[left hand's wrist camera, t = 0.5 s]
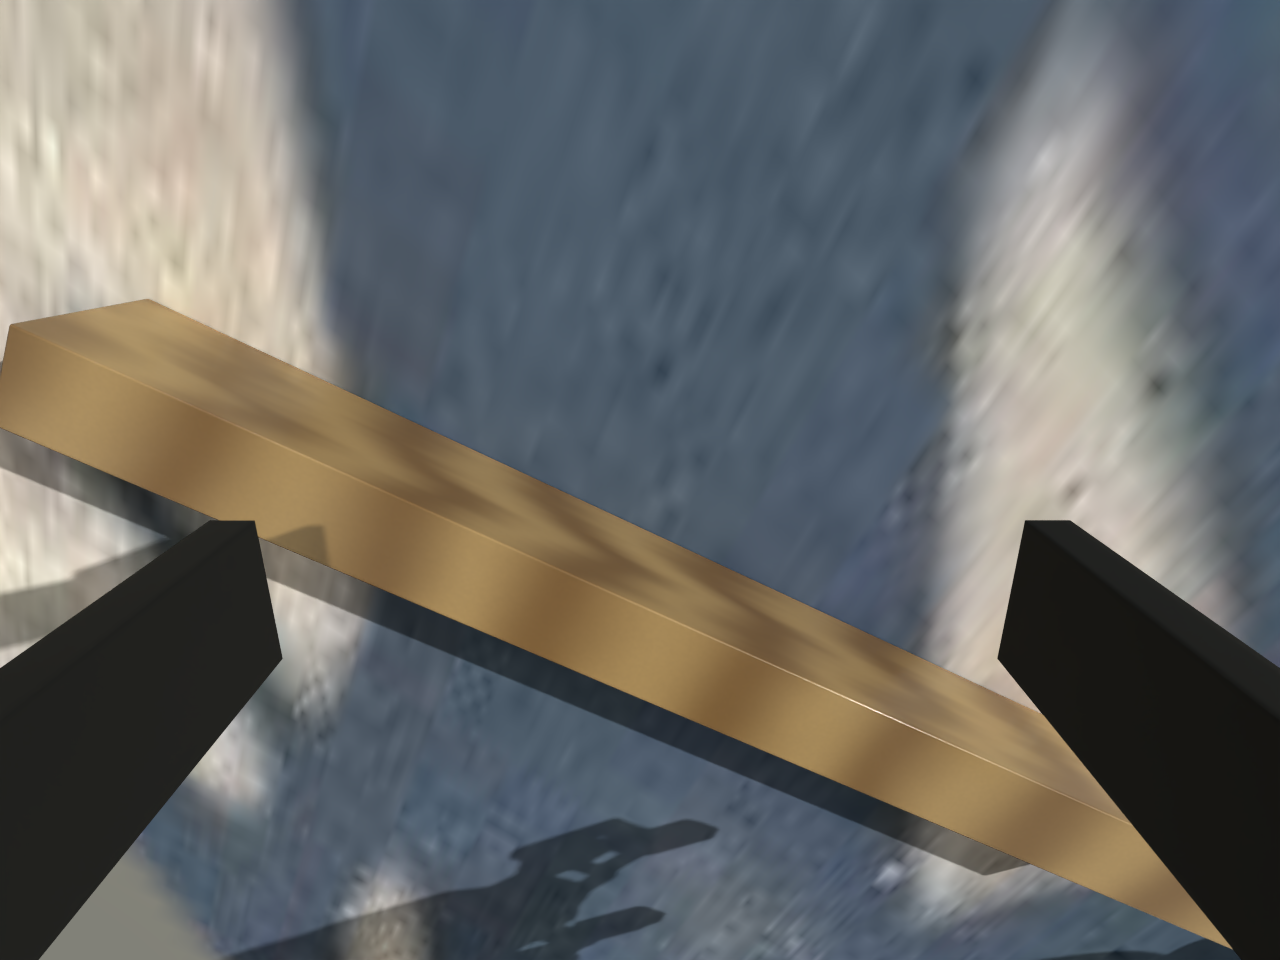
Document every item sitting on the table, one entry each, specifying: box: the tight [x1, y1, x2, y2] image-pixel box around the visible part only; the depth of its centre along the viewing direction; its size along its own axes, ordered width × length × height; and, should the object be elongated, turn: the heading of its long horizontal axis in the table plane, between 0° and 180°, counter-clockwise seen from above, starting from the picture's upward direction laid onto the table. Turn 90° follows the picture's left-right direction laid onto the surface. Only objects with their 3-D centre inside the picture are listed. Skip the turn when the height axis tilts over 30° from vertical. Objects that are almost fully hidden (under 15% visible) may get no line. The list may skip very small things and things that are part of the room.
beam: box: [0, 299, 1232, 949], centre depth 38 cm, size 67×4×8 cm, turn 63°
